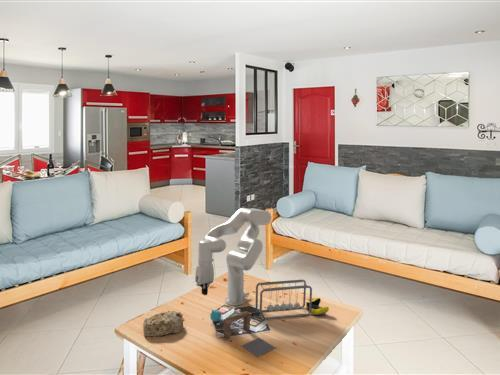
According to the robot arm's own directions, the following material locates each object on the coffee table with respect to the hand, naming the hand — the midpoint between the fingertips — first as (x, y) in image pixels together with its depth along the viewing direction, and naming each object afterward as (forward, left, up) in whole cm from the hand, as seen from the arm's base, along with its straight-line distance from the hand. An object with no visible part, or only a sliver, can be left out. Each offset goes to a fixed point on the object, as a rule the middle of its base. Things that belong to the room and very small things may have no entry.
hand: (204, 294), depth 228 cm
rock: (+26, -1, -13) cm, 29 cm away
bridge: (-1, +27, -12) cm, 30 cm away
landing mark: (-1, +43, -12) cm, 45 cm away
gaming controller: (-52, +37, -13) cm, 65 cm away
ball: (-1, +9, -9) cm, 13 cm away
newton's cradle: (-35, +27, -13) cm, 46 cm away
